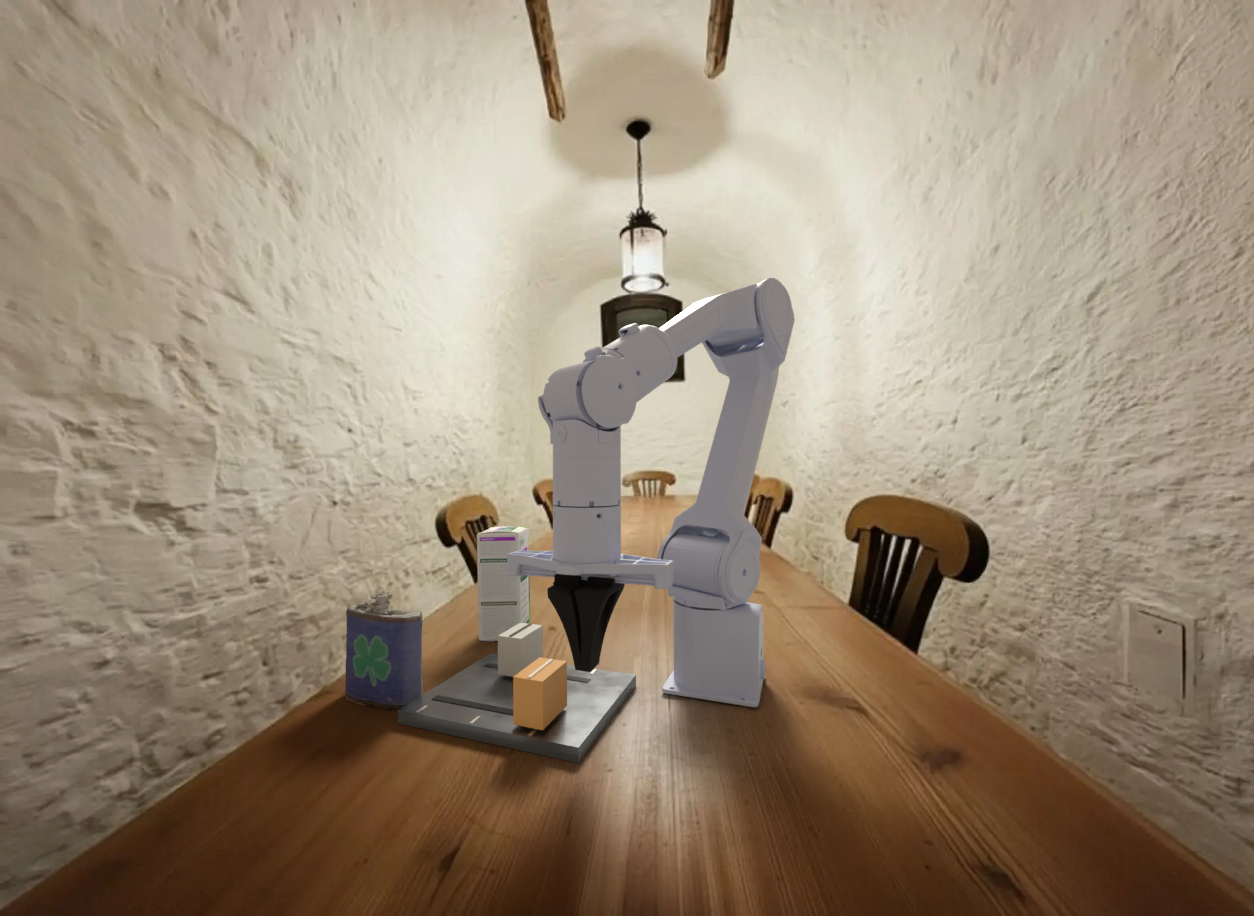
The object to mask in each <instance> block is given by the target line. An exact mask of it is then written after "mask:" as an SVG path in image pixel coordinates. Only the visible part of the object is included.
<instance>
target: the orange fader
mask: <svg viewBox="0 0 1254 916" xmlns="http://www.w3.org/2000/svg"><path fill="white" fill-rule="evenodd" d="M567 665H568V661H567V660H560V659H555V658H554V659H553V658H547V657H543V658H542V657H539V658H538V659H537V660H535V661H534V662H533V663H531V664H530V665H528V666H527V667H526V668H524V669H523V670H522V671H520V672H519V673H518V674H516V675H515V676H514V677H513V725H518V726H523V727H528V728H533V729H538V730H544V729H545V728H546V727H547V726H548V725H549V724H550V723H551V722H552V721H553V720H554V718H555V717H556V716H557V715H558V714H559V713H560V712H561V711H562V710H563V709H564V708H565V707H566V706H567Z"/></svg>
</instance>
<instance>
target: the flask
mask: <svg viewBox="0 0 1254 916" xmlns="http://www.w3.org/2000/svg"><path fill="white" fill-rule="evenodd" d="M369 597H370V598H371V600H375V602H371V600H366V601H365V602H360V603H357V604H353V605H350V606H348V607H347V608H346V612H345V613H346V615H345V616H346V635H345V638H346V643H345V644H346V645H345V647H346V649H345V651H346V652H345V684H344V685H345V691H344V693H345V694H344V697H346V698H345V699H346V700H348V701H350V702H353V703H355V704H358V705H361V706H366V707H367V706H371V707H373V708H378V709H385V710H392V711H395V712H397V711H398V710H399V709H400V708H402V707H404V706H405V705H407V704H408V703H410V702H412V701H413V700H415V699H417V698H418V697H420V696H422V695H423V694H424V691H423V690H424V687H423V654H422V652H423V647H422V645H423V612H422V611H419V610H404V609H395V608H390V605H391V601H390V599H392V597H393V592H392V593H391V592H390V591H387V592H386V594H385V593H382V592H376V593H374V592H373V593H371V594H370V596H369ZM396 710H397V711H396Z"/></svg>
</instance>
